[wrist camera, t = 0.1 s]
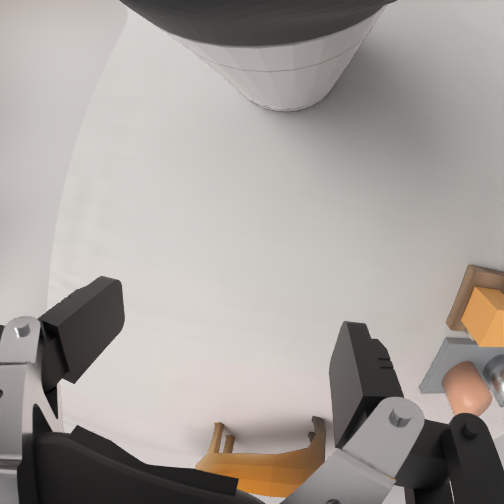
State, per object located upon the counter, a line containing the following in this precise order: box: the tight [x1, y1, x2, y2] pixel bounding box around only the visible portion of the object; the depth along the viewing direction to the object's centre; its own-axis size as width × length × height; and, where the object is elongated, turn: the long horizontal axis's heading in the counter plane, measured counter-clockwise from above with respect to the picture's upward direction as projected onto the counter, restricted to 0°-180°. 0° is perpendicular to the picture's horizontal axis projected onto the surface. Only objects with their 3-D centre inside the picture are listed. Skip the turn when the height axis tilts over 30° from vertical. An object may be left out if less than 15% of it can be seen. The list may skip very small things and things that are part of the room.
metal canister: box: [482, 355, 504, 407], centre depth 24 cm, size 4×4×6 cm
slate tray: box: [419, 338, 504, 394], centre depth 28 cm, size 8×21×1 cm, turn 84°
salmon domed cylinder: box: [442, 361, 492, 416], centre depth 25 cm, size 5×5×6 cm
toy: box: [195, 416, 326, 498], centre depth 30 cm, size 11×29×15 cm, turn 107°
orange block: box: [461, 286, 504, 347], centre depth 22 cm, size 4×4×5 cm
